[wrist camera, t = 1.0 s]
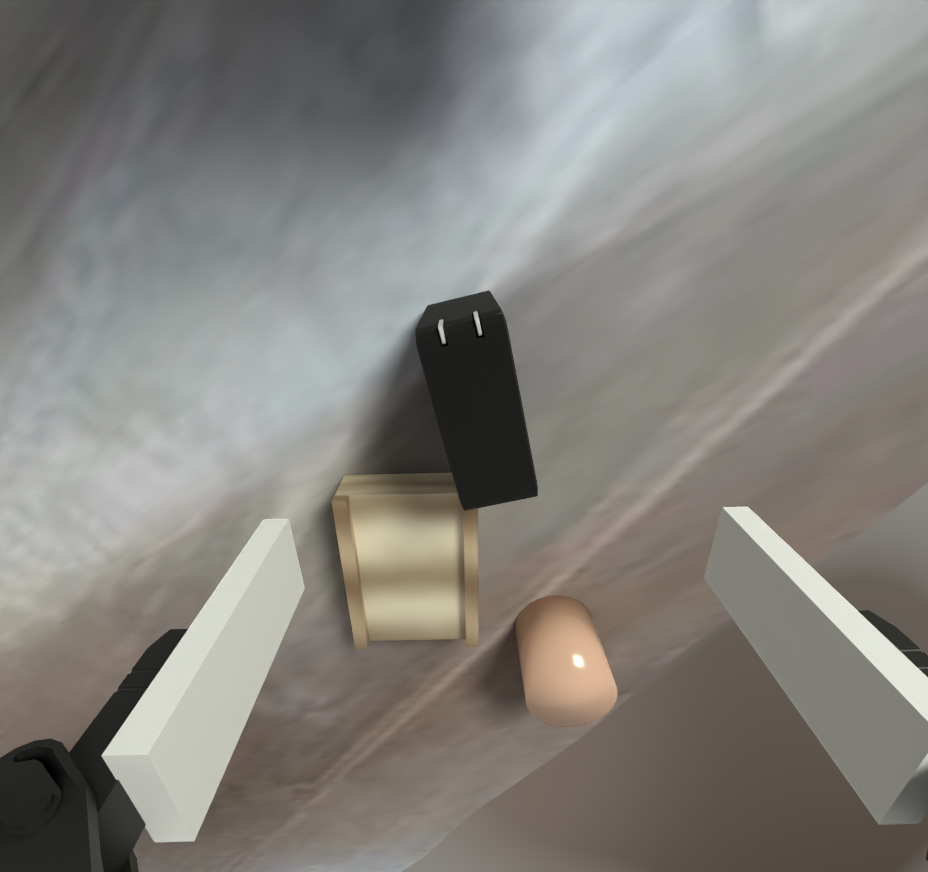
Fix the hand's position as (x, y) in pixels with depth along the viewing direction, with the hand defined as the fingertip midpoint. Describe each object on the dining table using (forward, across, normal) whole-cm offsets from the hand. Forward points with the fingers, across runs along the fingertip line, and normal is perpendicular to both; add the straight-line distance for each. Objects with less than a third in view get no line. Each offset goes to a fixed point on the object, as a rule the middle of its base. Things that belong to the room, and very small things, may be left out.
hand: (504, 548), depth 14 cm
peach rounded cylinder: (+18, +6, -24) cm, 31 cm away
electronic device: (+19, 0, 0) cm, 19 cm away
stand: (+18, -5, -15) cm, 24 cm away
